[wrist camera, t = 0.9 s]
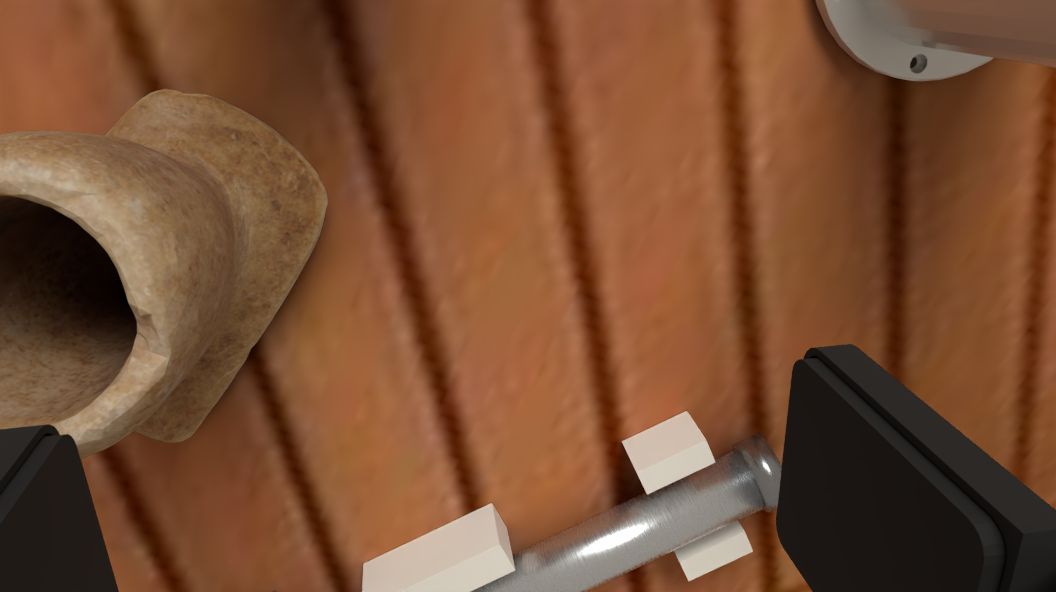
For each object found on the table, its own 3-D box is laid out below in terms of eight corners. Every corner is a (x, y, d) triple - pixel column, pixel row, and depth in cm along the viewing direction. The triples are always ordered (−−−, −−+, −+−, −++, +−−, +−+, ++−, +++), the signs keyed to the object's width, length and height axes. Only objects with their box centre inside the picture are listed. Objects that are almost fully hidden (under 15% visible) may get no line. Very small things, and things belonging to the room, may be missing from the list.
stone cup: (115, 17, 33) (-81, 54, 19) (364, 180, 37) (348, 307, 23) (-48, 302, 36) (-315, 507, 23) (197, 423, 40) (97, 658, 27)
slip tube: (749, 420, 45) (781, 460, 41) (769, 472, 47) (802, 515, 43) (366, 601, 46) (364, 656, 42) (399, 646, 47) (400, 703, 44)
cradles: (686, 410, 45) (709, 445, 41) (732, 517, 48) (756, 557, 45) (363, 563, 45) (361, 609, 42) (431, 659, 48) (434, 707, 45)
